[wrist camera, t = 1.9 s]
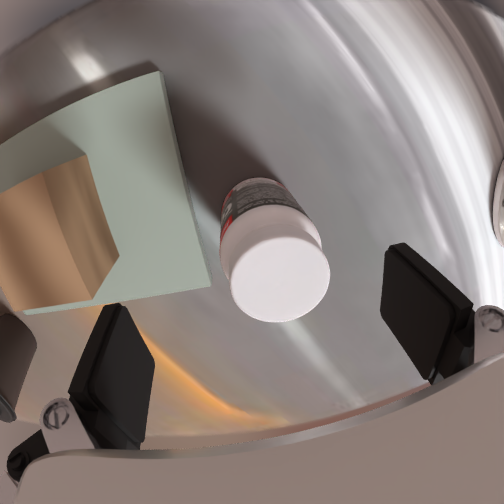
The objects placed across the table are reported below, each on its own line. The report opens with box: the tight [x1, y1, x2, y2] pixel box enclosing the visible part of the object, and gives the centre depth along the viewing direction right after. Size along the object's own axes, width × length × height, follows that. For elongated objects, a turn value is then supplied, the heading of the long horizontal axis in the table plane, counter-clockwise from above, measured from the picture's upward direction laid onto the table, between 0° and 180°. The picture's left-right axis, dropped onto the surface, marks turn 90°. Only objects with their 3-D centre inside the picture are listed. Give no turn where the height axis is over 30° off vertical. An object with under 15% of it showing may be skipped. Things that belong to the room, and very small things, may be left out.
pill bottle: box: [220, 178, 330, 322], centre depth 15 cm, size 5×5×8 cm
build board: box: [0, 71, 212, 315], centre depth 17 cm, size 18×14×1 cm
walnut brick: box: [0, 155, 120, 312], centre depth 14 cm, size 7×7×5 cm
